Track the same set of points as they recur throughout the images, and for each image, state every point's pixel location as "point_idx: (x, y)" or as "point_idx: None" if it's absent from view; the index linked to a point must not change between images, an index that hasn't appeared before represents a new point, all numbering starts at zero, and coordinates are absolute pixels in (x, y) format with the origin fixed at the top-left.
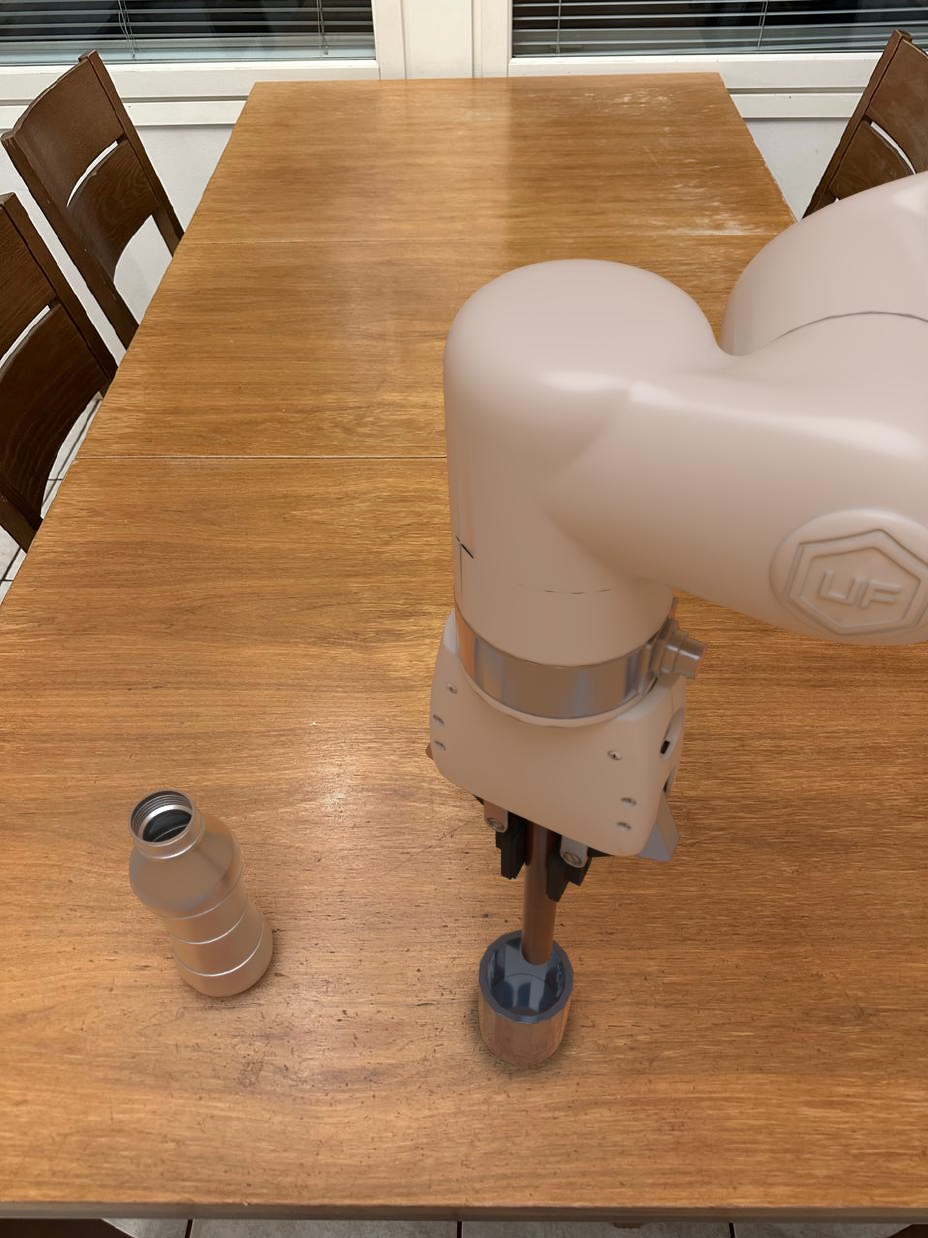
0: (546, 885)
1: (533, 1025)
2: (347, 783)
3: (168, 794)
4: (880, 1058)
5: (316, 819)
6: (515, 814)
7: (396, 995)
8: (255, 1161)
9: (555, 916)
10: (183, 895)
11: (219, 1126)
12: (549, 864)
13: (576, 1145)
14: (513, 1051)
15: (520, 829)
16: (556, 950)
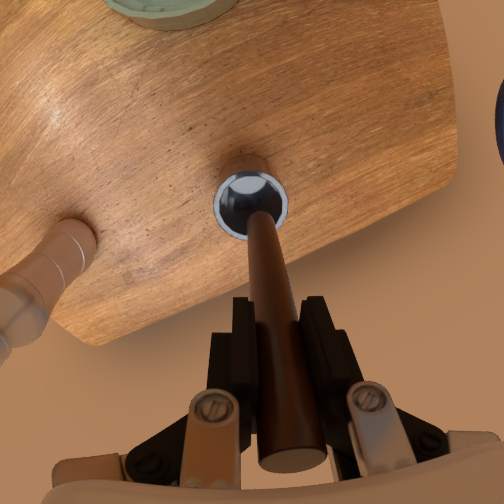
0: None
1: None
2: (56, 102)
3: None
4: (441, 117)
5: (55, 136)
6: (241, 449)
7: (167, 206)
8: (159, 306)
9: (282, 254)
10: (31, 341)
11: (134, 302)
12: None
13: (305, 228)
14: None
15: (252, 425)
16: (264, 177)
